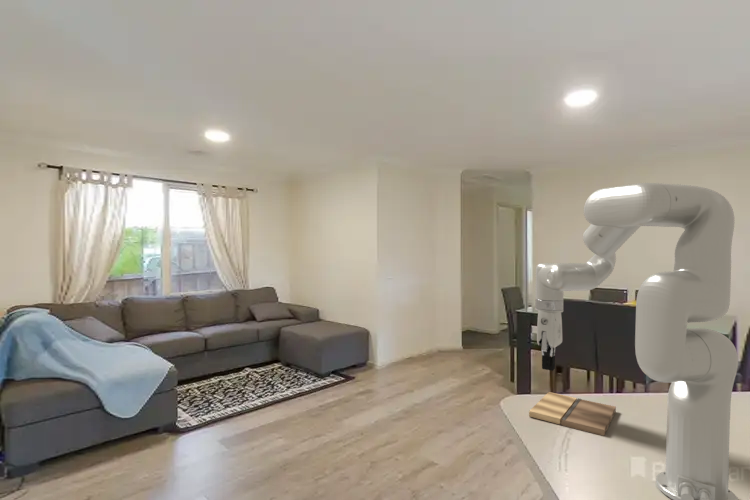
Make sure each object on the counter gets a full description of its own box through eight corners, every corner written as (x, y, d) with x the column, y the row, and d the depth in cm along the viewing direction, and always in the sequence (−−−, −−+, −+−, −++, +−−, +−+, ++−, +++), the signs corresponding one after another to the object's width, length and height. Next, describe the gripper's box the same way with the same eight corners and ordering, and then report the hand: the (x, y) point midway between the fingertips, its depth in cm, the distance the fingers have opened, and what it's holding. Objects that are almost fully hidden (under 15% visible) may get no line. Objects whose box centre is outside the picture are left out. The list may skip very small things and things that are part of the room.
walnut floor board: (604, 435, 105) (604, 429, 105) (561, 425, 111) (561, 419, 111) (615, 411, 121) (615, 406, 121) (577, 403, 127) (577, 398, 127)
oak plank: (560, 424, 111) (560, 418, 111) (529, 416, 116) (529, 410, 116) (576, 402, 127) (576, 398, 127) (548, 396, 132) (548, 391, 132)
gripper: (556, 309, 114) (555, 377, 114) (569, 304, 126) (568, 366, 126) (528, 307, 119) (527, 372, 118) (542, 302, 131) (542, 362, 130)
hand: (548, 369), depth 122 cm, fingers closed
